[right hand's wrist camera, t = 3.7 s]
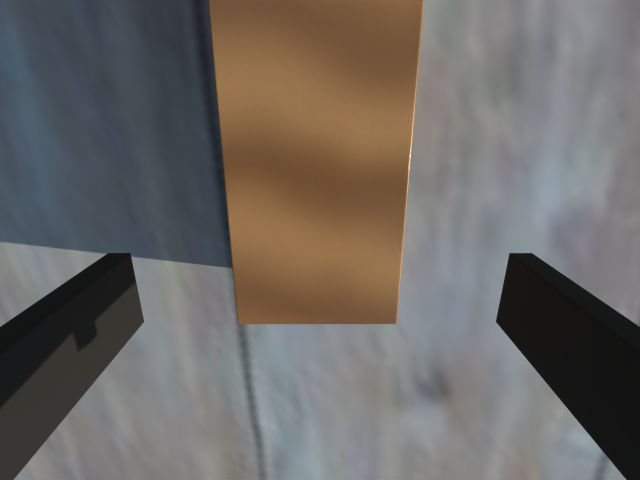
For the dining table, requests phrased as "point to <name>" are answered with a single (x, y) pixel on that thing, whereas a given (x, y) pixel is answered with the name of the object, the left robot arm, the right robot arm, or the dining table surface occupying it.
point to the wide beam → (316, 153)
